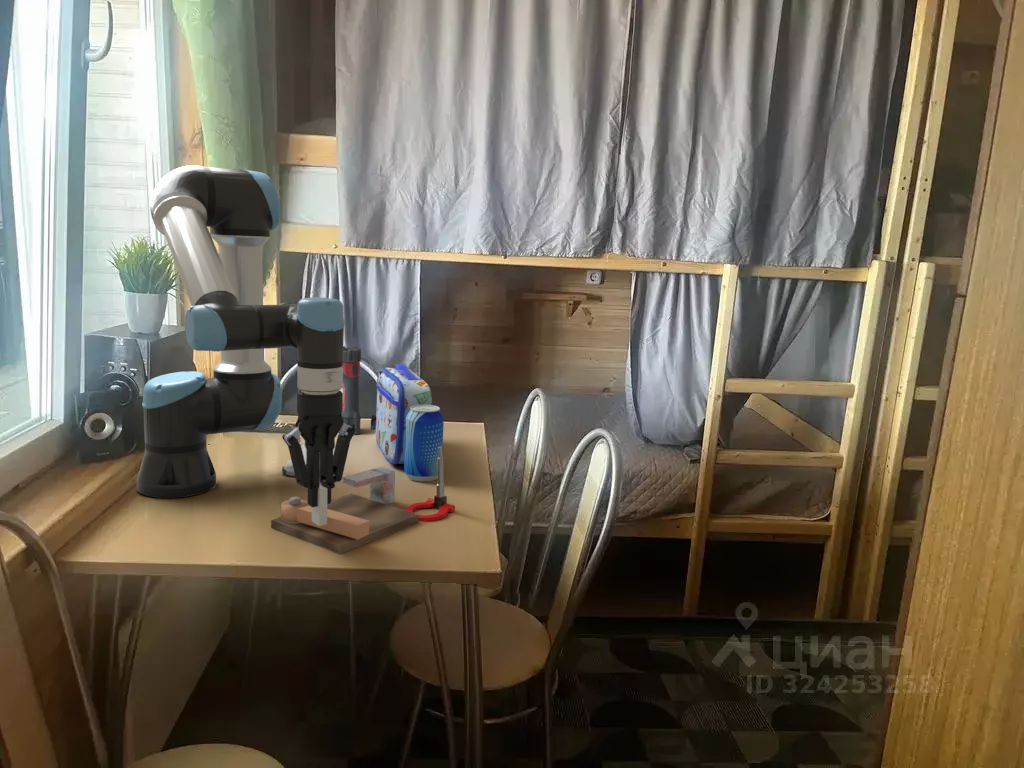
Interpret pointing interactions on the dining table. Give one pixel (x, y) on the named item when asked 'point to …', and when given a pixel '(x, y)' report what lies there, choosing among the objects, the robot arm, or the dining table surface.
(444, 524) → the dining table surface
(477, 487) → the dining table surface
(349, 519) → the link
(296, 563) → the dining table surface
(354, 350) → the flashlight
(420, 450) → the beer can
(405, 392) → the lunch box
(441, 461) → the tow hook
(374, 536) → the pintle plate
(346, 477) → the keeper
